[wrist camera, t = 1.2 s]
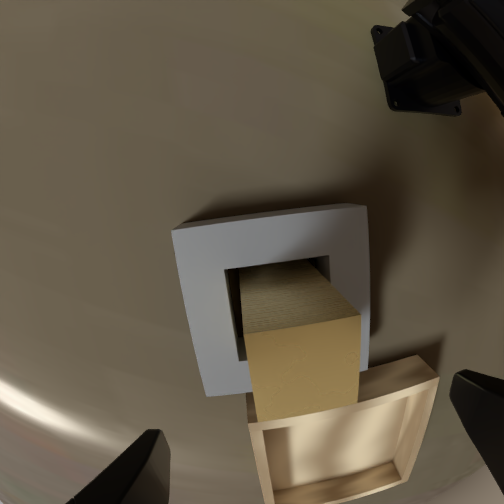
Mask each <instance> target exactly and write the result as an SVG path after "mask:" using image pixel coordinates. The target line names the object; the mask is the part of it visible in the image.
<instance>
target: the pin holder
mask: <svg viewBox="0 0 504 504" xmlns="http://www.w3.org/2000/svg"><path fill="white" fill-rule="evenodd" d="M171 232H172V238H173V244H174V250H175V256H176V262H177V267H178V273H179V278H180V283H181V288H182V293H183V298H184V303H185V308H186V313H187V318H188V322H189V327H190V331H191V336H192V340H193V345H194V349H195V353H196V357H197V362H198V366H199V370H200V374H201V378H202V382H203V385H204V389H205V393H206V397H208V396H219V395H230V394H239V393H247V392H253V390H252V384H251V378H250V372H249V365H248V359H247V353H246V346H245V340H244V337H238V335H237V329H236V323H235V316H234V310H233V304H232V297H231V291H230V284H229V278H228V271H227V269H231V268H239V267H246V266H254V265H261V264H268V263H275V262H283V261H290V260H297V259H304V258H311V257H316V269H317V270H318V271H319V272H320V273H321V274H322V275H323V276H324V277H325V278H326V279H327V280H328V281H329V282H330V283H331V284H332V285H333V286H334V287H335V288H336V289H337V290H338V291H339V292H340V293H341V295H342V296H343V297H344V298H345V299H346V300H347V301H348V302H349V303H350V304H351V305H352V306H353V307H354V308H355V309H356V310H357V311H358V312H359V313H360V314H361V351H360V372H361V371H365V370H368V356H369V334H370V255H369V233H368V217H367V206H364V205H358V204H351V203H340V204H331V205H321V206H312V207H303V208H295V209H286V210H278V211H270V212H262V213H254V214H246V215H238V216H231V217H224V218H216V219H209V220H202V221H195V222H189V223H182V224H180V225H178V226H177V227H175V228H174V229H173V230H171Z"/></svg>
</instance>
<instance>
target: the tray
mask: <svg viewBox="0 0 504 504" xmlns="http://www.w3.org/2000/svg"><path fill="white" fill-rule="evenodd" d="M439 377H440V376H439V375H438V374H437V373H436V372H435V371H434V370H433V369H432V368H430V367H429V366H428V365H427V364H426V363H425V362H424V361H423V360H422V359H421V358H420V357H419V356H418V355H414V356H411V357H407V358H404V359H401V360H397V361H394V362H390V363H387V364H383V365H380V366H376V367H372V368H368V370H365V371H361V372H359V388H358V401H357V403H355V404H351V405H347V406H343V407H339V408H335V409H330V410H326V411H321V412H316V413H312V414H306V415H301V416H296V417H290V418H284V419H277V420H271V421H264V422H258V420H257V414H256V408H255V402H254V396H253V392H247V393H246V403H247V416H248V426H249V431H250V436H251V441H252V446H253V451H254V455H255V460H256V465H257V469H258V474H259V479H260V483H261V488H262V492H263V497H264V501H265V504H338V503H342V502H345V501H349V500H353V499H356V498H360V497H363V496H366V495H369V494H373V493H376V492H379V491H382V490H384V489H387V488H390V487H393V486H396V485H398V484H401V483H403V482H406V481H408V478H409V476H410V473H411V471H412V468H413V465H414V463H415V460H416V457H417V454H418V452H419V449H420V446H421V443H422V440H423V437H424V434H425V430H426V427H427V424H428V421H429V417H430V414H431V410H432V406H433V402H434V399H435V394H436V390H437V386H438V382H439Z"/></svg>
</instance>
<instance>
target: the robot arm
mask: <svg viewBox="0 0 504 504" xmlns="http://www.w3.org/2000/svg"><path fill="white" fill-rule="evenodd" d="M402 11H403V12H404V13H405V14H407V15H408V16H409V17H410V16H412V17H411V18H409V19H408V20H407V21H406V22H404V21H402V22H400V23H399V24H398V25H397V26H396V27H395V28H392V27H386V26H380V25H375V26H374V27H373V28H372V29H371V34H372V38H373V42H374V45H375V46H374V51H375V55H376V59H377V63H378V67H379V72H380V76H381V79H382V80H383V83H384V87H385V92H386V97H387V102H388V106H389V108H390V109H391V110H393V111H398V112H413V113H426V114H436V115H446V116H454V117H455V116H460V115H461V113H462V111H461V105H460V99H463V98H466V97H469V96H473V95H476V94H479V93H483V92H486V93H487V94H488V95H489V96H490V98H491V99H492V100H493V102H494V103H495V104H496V105H497V107H498V108H499V109H500V111H501V115H502V116H503V117H504V0H408V2H407V3H406V4H405V6H404V7H403V8H402ZM376 30H377V31H379V32H380V34H379V33H378V32H377V31H376ZM394 101H395V102H397V106H395V105H394ZM454 108H455V109H456V111H455V109H454ZM449 396H450V400H451V402H452V404H453V406H454V408H455V410H456V412H457V414H458V416H459V418H460V420H461V422H462V424H463V426H464V428H465V430H466V432H467V434H468V435H469V437H470V439H471V440H472V442H473V443H474V445H475V447H476V448H477V450H478V452H479V453H480V455H481V456H482V458H483V460H484V462H485V463H486V465H487V467H488V468H489V470H490V472H491V474H492V475H493V477H494V479H495V481H496V482H497V484H498V486H499V487H500V489H501V491H502V493H503V495H504V380H502V379H499V378H495V377H492V376H488V375H485V374H481V373H478V372H474V371H471V370H467V369H464V370H461V371H459V372H457V373H455V375H454V377H453V381H452V385H451V388H450V392H449ZM170 456H171V454H170V448H169V445H168V443H167V441H166V438H165V436H164V433H163V432H162V430H160V429H148V430H146V431H145V432H144V433H143V434H142V435H141V436H140V437H139V438H138V439H137V440H135V441H134V442H133V443H132V444H131V445H130V446H129V447H128V448H127V449H126V450H125V451H124V452H123V453H122V454H121V455H120V456H118V457H117V458H116V459H115V460H114V461H113V462H112V463H111V464H110V465H109V466H108V467H107V468H105V469H104V470H103V471H102V472H101V473H100V474H99V475H98V476H97V477H95V478H94V479H93V480H92V481H91V482H90V483H89V484H88V485H86V486H85V487H84V488H83V489H82V490H81V491H80V492H78V493H77V494H76V495H75V496H74V498H71V499H70V500H69V501H68V502H67V503H66V504H168V502H169V490H170Z"/></svg>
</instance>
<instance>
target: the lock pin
mask: <svg viewBox="0 0 504 504" xmlns="http://www.w3.org/2000/svg"><path fill="white" fill-rule="evenodd" d="M239 278H240V292H241V306H242V320H243V333H244V340H245V346H246V353H247V359H248V365H249V372H250V378H251V384H252V390H253V396H254V402H255V408H256V414H257V420H258V422H264V421H271V420H277V419H284V418H290V417H296V416H301V415H306V414H312V413H316V412H321V411H326V410H330V409H335V408H339V407H343V406H347V405H351V404H355V403H357V401H358V388H359V372H360V351H361V314H360V313H359V312H358V311H357V310H356V309H355V308H354V307H353V306H352V305H351V304H350V303H349V302H348V301H347V300H346V299H345V298H344V297H343V296H342V295H341V293H340V292H339V291H338V290H337V289H336V288H335V287H334V286H333V285H332V284H331V283H330V282H329V281H328V280H327V279H326V278H325V277H324V276H323V275H322V274H321V273H320V272H319V271H318V270H317V269H316V268H315V267H314V266H313V265H312V264H311V263H310V262H309V261H308V260H307V259H306V258H304V259H297V260H290V261H283V262H275V263H268V264H261V265H254V266H246V267H239Z"/></svg>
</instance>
